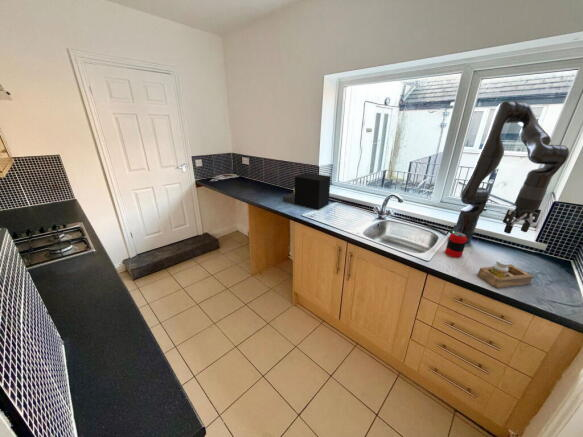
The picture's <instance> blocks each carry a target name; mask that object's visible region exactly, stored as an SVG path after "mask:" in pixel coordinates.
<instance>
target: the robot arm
mask: <svg viewBox="0 0 583 437" xmlns="http://www.w3.org/2000/svg"><path fill="white" fill-rule="evenodd" d="M505 124H517V125H519V127H521V129H520V131H519V139H520V141H521V142H522V143H523V145H524V146H525V148H526V152H527V158H528V161H529V162H531V163H533V164H535V165H542V166H541V167H539V168H535V169H531V170H529V171H528V172H527V174H526V175H525V176H526V177H525V179H524V181H523V184H522V186H521V187H520V189H519V192H518V194H517V196H516V199H515V201H514V206H515V208H514V210H513V209H507V210H506V213H505V215H504V218H503V219H502V223H503V224H505V226H504V230H503V232H504V233H505V234H508V235H509V234H510V235H511V233H512V231H513V228H514V225H516V223H519V222H521V221H523V223H522V226H521V228H520V231H521V232H523V233H528V231H529V230H530V227H531V225H533V224H536V223H537V222H538V220H539V217H540V215H541V213H542V209H540V207H541V205H542V202H543V200H544V198H545V197H546V194H547V190H548V187H549V185H550V183H551V180H552V178H553V177H554V175H556V173H558V171H559V170H560V169H561V168H562V167H563V165H564V164H565V163H566V162H567V160H568V159H569V156H570V150H569V147H567V146H566V145H564V144H551V142H552V139H551V137H550V135H549V134H548V132H546V131H545V129H544V128H543V127H542V126H541V125H540V124H539V122H538V120H537V118H536V115H535V113H534V111H533V108H532V107H531V105H530V104H529V103H528V102H527V101H521V100H504V101H502V102H501V103H499V104H498V106H496V109H495V111H494V114H493V116H492V120H491V124H490V126H489V129H488V133H487V136H486V138H485V140H484V143H483V146H482V147H481V150H480V153H479V155H478V157H477V159H476V162H475V165H474V167H473V170H472V172H471V174H470V176H469V179H468V180H467V181H466V184H465V185H464V187H463V189H462V192H461V194H460V202H461V203H462V204H464V205H467V206H464V207H462V208H461V209H460V210H459V213H458V217H457V220H456V224H454V225H453V228H452V229H451V228H450V229H449V230H447V231H446V232H443V231H442V230H440V229H438V228H436V227H433V226H431V224H429V223H428V222H424V223H423V224H424V225H427V226H428V227H429V228H431V229H433V230H435V231H436V232H439V233H440V234H442V235H444V236H445V235H446V236H447V235H449V234H452V233H453V232H460V233H463V234H465V235H466V237H467V241H466V244H465V247H469V246H470V245H471V243H472V240H473V236H474V234H475V231H476V229H477V225H478V223H479V222H478V221H479V218H480V216H481V215H482V214H483V212H484V210H485V207H486V205H487V202H488V199H489V190H488V189H487V188H485V187H480V186H481V184H482V183H483V181H484V180H485V179H486V178H487V177H489V176H490V175H491V174H492V173H494V171H495V170H496V169H497V168H498V167H499V166H500V164H501V161H502V159H503V157H504V155H505V147H504V146H505V145H504V143H503V139H502V133H503V129H504V126H505ZM426 223H427V224H426Z"/></svg>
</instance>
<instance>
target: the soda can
mask: <svg viewBox="0 0 583 437" xmlns="http://www.w3.org/2000/svg"><path fill="white" fill-rule="evenodd" d="M466 241H467V237H466V235H465V234H463V233H460V232H453V233H452V234H451V233H449V237H448V240H447V244H446V247H445V251H444V253H445V254H446V256H448V257H452V258H455V259H459V258H462V256H463V252H464V251H465V247H466V246H465V244H466Z"/></svg>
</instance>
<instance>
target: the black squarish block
mask: <svg viewBox="0 0 583 437" xmlns="http://www.w3.org/2000/svg"><path fill="white" fill-rule="evenodd" d="M331 179H332V178H331V175H324V174H318V173H311V172H304V173H302V174H299V175H296V176H294V187H293V192H291V193H289V194H287V195H284V196H282V202H285V203H289V204H294V206H295V205H296V206H298V207H299V206H300V207H304V208H308V209H311V210H315V211H320V210H321V209H323V208H324V207H326V206H328V205H329V204H330V191H331Z"/></svg>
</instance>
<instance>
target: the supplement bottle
mask: <svg viewBox="0 0 583 437" xmlns="http://www.w3.org/2000/svg"><path fill="white" fill-rule="evenodd" d="M508 265H509V262H508V261H506V260H504V259H496V262H495V263H494V264H493V265H492V266H493V267H492V266H491V267H492V270H491V273H493V274H495V275H496V276H498V277H499V278H501V277H506V275H507V273H508V270H509V269H508Z"/></svg>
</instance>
